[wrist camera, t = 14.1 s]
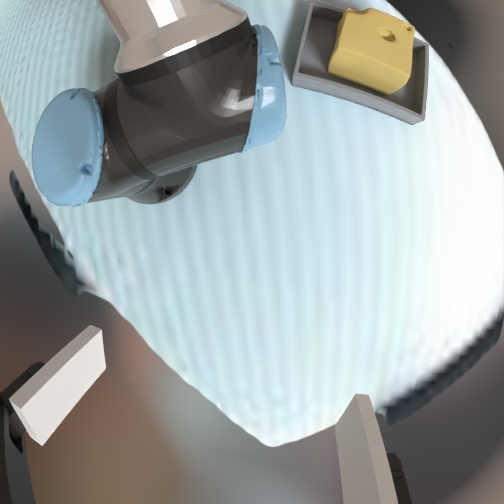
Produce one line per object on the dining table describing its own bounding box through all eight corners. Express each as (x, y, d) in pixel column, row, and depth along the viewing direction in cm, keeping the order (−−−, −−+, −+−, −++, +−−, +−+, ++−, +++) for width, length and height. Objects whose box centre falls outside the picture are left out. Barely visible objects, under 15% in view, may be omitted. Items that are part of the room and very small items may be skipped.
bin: (292, 85, 35) (293, 75, 31) (308, 15, 31) (310, 1, 27) (411, 125, 35) (424, 120, 30) (418, 53, 30) (428, 44, 26)
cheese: (336, 28, 31) (347, -4, 21) (396, 52, 31) (420, 27, 21) (323, 75, 34) (334, 47, 24) (388, 100, 33) (414, 81, 24)
